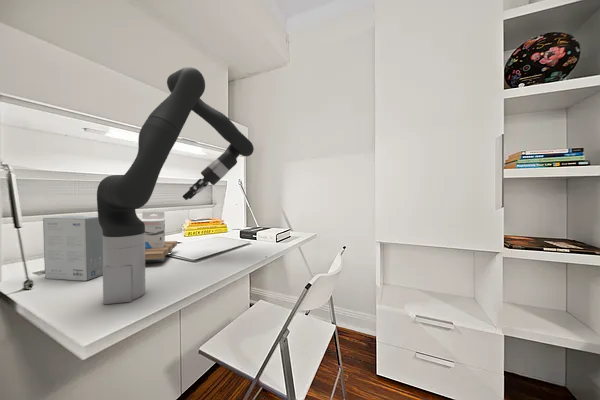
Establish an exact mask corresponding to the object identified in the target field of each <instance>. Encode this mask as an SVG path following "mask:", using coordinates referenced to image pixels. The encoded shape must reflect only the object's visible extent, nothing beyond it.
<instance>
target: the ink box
mask: <svg viewBox="0 0 600 400" xmlns="http://www.w3.org/2000/svg"><path fill="white" fill-rule="evenodd" d="M141 216H142V219H140V220H141V221H142V222H144V224H145V249H149V248H163V247H164V245H165V241H166V240H165V239H166V234H165V233H166V218H165V211H143V212H142V215H141Z"/></svg>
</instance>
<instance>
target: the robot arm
mask: <svg viewBox="0 0 600 400" xmlns="http://www.w3.org/2000/svg"><path fill="white" fill-rule="evenodd" d="M166 85H167V88H168V90H169V92H170V94H169V95H168V96H167V97H166V98H165V99H164V100H163V101H162V102H161V103H159V104H158V106H157V107H156V108H154V109H153V111H151V113H150V114H149V115H148V117H147V118H146V120H145V121H144V123H143V124H142V126H141V128H140V130H139V133H138V138H137V139H138V145H137V146H138V151H137V154H136V157H135V159H134V161H132V164H131V165H130V167H129V168H128V170H127V171H125V173H124V174H111V175H107V176H106V177H104V178H103V179H102V180H101V181H100V182H99V184H98V186H97V188H96V189H97V191H96V205H97V207H96V208H97V216H98V220H99V224H100V226H101V228H102V232H103V275H102V296H103V297H102V301H103V302H102V303H103V305H110V304H112V305H113V304H120V303H121V304H123V303H131V302H132V301H134V300H136V299H138V298H140V297H143V296H144V295H145V293H146V291H147V290H146V263H145V224H144V222H142V221H141V220H142V219H140V218H139V217H138V215H137V213H136V210H137V209H140V208H143V207H144V206H145V205H146V204H147V203H148V202H149V200H150V199H151V198H152V197H151V196H152V195H153V192H154V190H155V187H156V184H157V180H158V179H159V176H160V174H161V172H162V168H163V167H164V165H165V163H166V161H167V158H168V156H169V155H170V153H171V150H172V149H173V147H174V145H175V144H176V141H177V140H178V138H179V136H180V135H181V132H182V131H183V128H184V126H185V124H186V122H187V119H188V117H189V116H190V114H191V112H194V113H195V114H196V115H197V116H199V117H200V118H202V119H203V120H204V121H205V122H206V123H208V124H209V125H210V126H211V127H212V128H213V129H214V130H215V131H216V132H217V133H218V134H219V135H220V136H221V137H222V138H223V139H224V140H225V141H227V143H229V145H227V148H226V150H225V151H224V152H223V153H221V154H220V156H218V157H217V158H216V159H215V160H213V161H212V162H211V163H210V164H209V165H207V166H206V167H205V168H203V170H202V171H201V172H200V174H201V175H202V176H203V178H199V179H197V181H196V182H195V183H193V184H192V186H190V187H189V190H187V192H185V193H184V194H183V195H182V198H183V199H184V200H185V201H187V200H191V199H193V198H194V196H196V195H197V194H199V193H201V192H202V191H203V190H204V189H206V188H207V187H208V185H209V183H210V184H211V185H212V186H215V185H216V184H217V183H219V181H220V180H222V179H223V178H224V177H225V176H226V175H227V174H228V172H229V171H231V169H233V168H234V167H235V166H236V164H237V163H238V157H239V156H242V157H249V156H251V155H252V154H253V152H254V149H255V148H254V145H253V143H252V142H251V141H250V139H249V138H248V137H247V136H246V135H244V134H243V133H242V131H240V130H239V129H238V128H237V126H236V125H235V124H234V123H233V122H232V120H231V119H230V118H229V117H228V116H226V115H225V114H224V113H223V112H221V111H219V110H218V109H215V108H214V107H212V106H210V105H209V104H207V103H205V101H203V99H202V98H201V97H202V96H203V94H204V93H205V89H206V81H205V77H204V76H203V74H202V72H201V71H200V70H199V69H197V68H195V67H192V66H186V67H182V68H181V69H178V70H177V71H175V72H173V73H171V74H170V75H169V76H168V77H167V80H166Z"/></svg>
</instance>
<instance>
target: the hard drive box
mask: <svg viewBox="0 0 600 400" xmlns="http://www.w3.org/2000/svg"><path fill="white" fill-rule="evenodd" d="M42 222H43V223H42V228H43V230H42V232H43V260H44V279H48V280H49V279H50V280H68V281H69V280H70V281H84V282H86V281H90V280H92V279H95V278H97V277H100V276H103V232H102V228H101V226H100V224H99V220H98V215H61V216H60V215H59V216H50V217H43V219H42Z"/></svg>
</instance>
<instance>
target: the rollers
mask: <svg viewBox="0 0 600 400" xmlns="http://www.w3.org/2000/svg"><path fill="white" fill-rule="evenodd" d="M171 252H172V253H173V249H172V250H171V251H170V252H169V253H171ZM165 261H166V256H164V257H163V258H162V259H145V264H149V263H150V264H151V263H164V262H165Z"/></svg>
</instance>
